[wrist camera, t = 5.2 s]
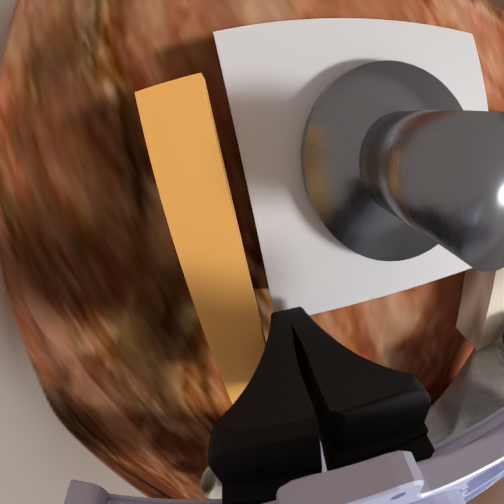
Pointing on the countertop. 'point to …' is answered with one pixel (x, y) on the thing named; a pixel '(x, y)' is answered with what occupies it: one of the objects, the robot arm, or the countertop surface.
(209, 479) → the pipe fitting
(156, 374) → the countertop surface
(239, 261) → the bar
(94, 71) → the countertop surface
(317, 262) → the socket block
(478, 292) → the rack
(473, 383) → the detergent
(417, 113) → the glossy grey dome knob
